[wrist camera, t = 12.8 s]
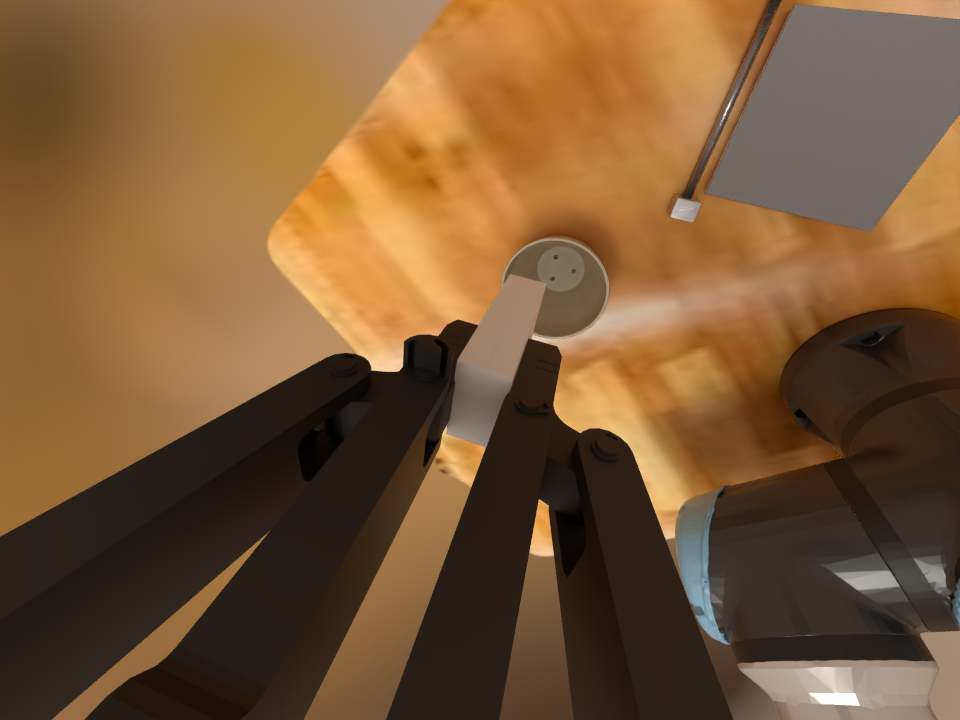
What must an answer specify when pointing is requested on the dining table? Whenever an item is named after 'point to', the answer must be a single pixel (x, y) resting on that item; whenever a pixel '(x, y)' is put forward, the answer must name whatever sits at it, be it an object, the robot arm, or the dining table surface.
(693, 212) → the hinge bracket
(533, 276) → the flower pot
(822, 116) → the tile
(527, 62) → the dining table surface
